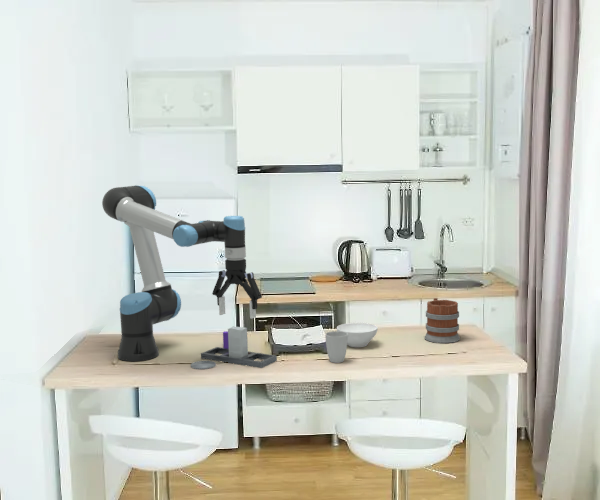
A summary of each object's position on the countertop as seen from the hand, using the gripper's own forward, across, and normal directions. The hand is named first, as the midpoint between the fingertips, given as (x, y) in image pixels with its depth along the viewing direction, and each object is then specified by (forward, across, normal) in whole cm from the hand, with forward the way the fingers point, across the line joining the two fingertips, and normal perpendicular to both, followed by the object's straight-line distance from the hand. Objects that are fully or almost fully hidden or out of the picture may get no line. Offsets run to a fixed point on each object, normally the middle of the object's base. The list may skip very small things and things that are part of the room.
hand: (237, 316), depth 279 cm
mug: (+17, +55, +63) cm, 85 cm away
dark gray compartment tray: (+16, 0, 0) cm, 16 cm away
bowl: (+17, +30, +38) cm, 51 cm away
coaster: (+16, -7, -12) cm, 22 cm away
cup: (+17, +33, +15) cm, 40 cm away
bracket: (+17, -13, +16) cm, 27 cm away
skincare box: (+17, 0, 0) cm, 17 cm away
